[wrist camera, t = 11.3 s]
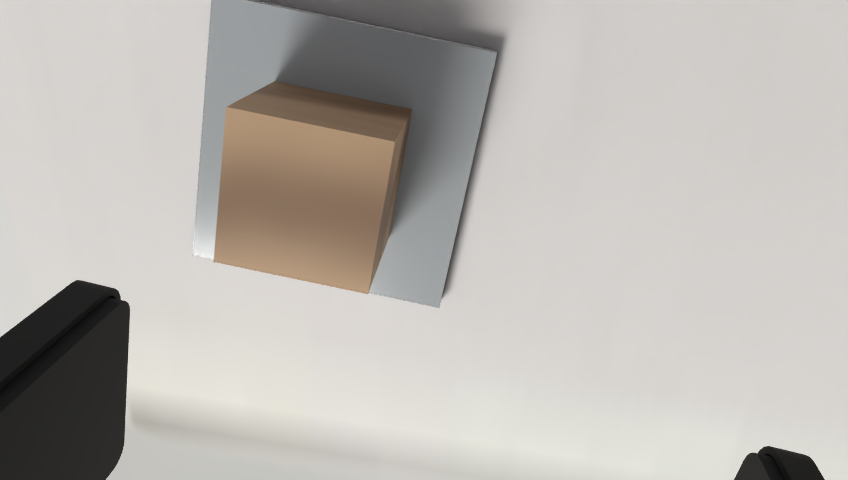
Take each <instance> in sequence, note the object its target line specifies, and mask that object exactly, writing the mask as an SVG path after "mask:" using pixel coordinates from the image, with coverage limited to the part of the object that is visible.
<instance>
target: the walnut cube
mask: <svg viewBox="0 0 848 480" xmlns="http://www.w3.org/2000/svg"><path fill="white" fill-rule="evenodd" d="M411 114H412V109H409V108H404V107H399V106H394V105H389V104H384V103H380V102H375V101H370V100H365V99H360V98H355V97H351V96H346V95H341V94H336V93H331V92H326V91H321V90H317V89H312V88H307V87H302V86H297V85H292V84H288V83H283V82H278V81H274V82H272V83H270V84H268V85H266V86H265V87H263V88H261V89H259V90H257V91H255V92H253V93H251V94H250V95H248V96H246V97H244V98H242V99H240V100H238V101H236V102H234V103H233V104H231V105H229V106H227V107H226V115H225V127H224V139H223V151H222V164H221V176H220V188H219V201H218V213H217V225H216V238H215V250H214V262H217V263H222V264H227V265H231V266H236V267H241V268H246V269H250V270H255V271H260V272H265V273H270V274H274V275H279V276H284V277H289V278H293V279H298V280H303V281H308V282H313V283H317V284H322V285H327V286H332V287H337V288H341V289H346V290H351V291H356V292H360V293H365V294H368V293H369V290H370V287H371V285H372V282H373V279H374V277H375V274H376V271H377V268H378V266H379V263H380V260H381V258H382V255H383V252H384V249H385V247H386V244H387V241H388V239H389V234H390V229H391V223H392V218H393V212H394V207H395V201H396V196H397V191H398V185H399V180H400V174H401V169H402V163H403V158H404V152H405V147H406V141H407V136H408V130H409V125H410V119H411Z"/></svg>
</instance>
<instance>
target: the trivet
mask: <svg viewBox="0 0 848 480" xmlns="http://www.w3.org/2000/svg"><path fill="white" fill-rule="evenodd" d="M496 56H497V51H495V50H490V49H486V48H481V47H476V46H471V45H467V44H462V43H457V42H452V41H448V40H443V39H438V38H433V37H429V36H424V35H419V34H414V33H410V32H405V31H400V30H395V29H390V28H386V27H381V26H376V25H371V24H367V23H362V22H357V21H352V20H348V19H343V18H338V17H333V16H329V15H324V14H319V13H314V12H310V11H305V10H300V9H295V8H291V7H286V6H281V5H276V4H272V3H267V2H262V1H257V0H211V14H210V27H209V41H208V54H207V68H206V82H205V95H204V109H203V122H202V136H201V149H200V163H199V176H198V190H197V204H196V217H195V231H194V244H193V255H194V256H198V257H203V258H208V259H212V260H214V250H215V238H216V225H217V213H218V201H219V188H220V176H221V164H222V151H223V139H224V127H225V115H226V107H227V106H229V105H231V104H233V103H234V102H236V101H238V100H240V99H242V98H244V97H246V96H248V95H250V94H251V93H253V92H255V91H257V90H259V89H261V88H263V87H265V86H266V85H268V84H270V83H272V82H274V81H278V82H283V83H288V84H292V85H297V86H302V87H307V88H312V89H317V90H321V91H326V92H331V93H336V94H341V95H346V96H351V97H355V98H360V99H365V100H370V101H375V102H380V103H384V104H389V105H394V106H399V107H404V108H409V109H412V114H411V119H410V125H409V130H408V136H407V141H406V147H405V152H404V158H403V163H402V169H401V174H400V180H399V185H398V191H397V196H396V201H395V207H394V212H393V218H392V223H391V229H390V234H389V239H388V241H387V244H386V247H385V249H384V252H383V255H382V258H381V260H380V263H379V266H378V268H377V271H376V274H375V277H374V279H373V282H372V285H371V287H370V290H369V293H371V294H376V295H381V296H385V297H390V298H395V299H400V300H404V301H409V302H414V303H418V304H423V305H428V306H432V307H437V308H439V307H440V302H441V298H442V294H443V289H444V285H445V280H446V276H447V272H448V267H449V263H450V258H451V254H452V250H453V245H454V241H455V236H456V232H457V228H458V223H459V219H460V214H461V210H462V206H463V201H464V197H465V192H466V188H467V184H468V179H469V175H470V170H471V166H472V162H473V157H474V153H475V148H476V144H477V140H478V135H479V131H480V126H481V122H482V118H483V113H484V109H485V104H486V100H487V96H488V91H489V87H490V82H491V78H492V74H493V69H494V65H495V60H496Z"/></svg>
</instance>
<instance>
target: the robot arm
mask: <svg viewBox="0 0 848 480" xmlns="http://www.w3.org/2000/svg"><path fill="white" fill-rule="evenodd" d="M129 320H130V307H129V304H128V303H127V302H126V301H122V300H121V298H120V294H119V291H118V290H116V289H114V288H110V287H106V286H102V285H98V284H94V283H90V282H85V281H81V280H76V281H74V282H73V283H71V284H70V285H68V286H67V287H66V288H64V289H63V290H62V291H60V292H59V293H58V294H56V295H55V296H54V297H53V298H51V299H50V300H49V301H47V302H46V303H45V304H43V305H42V306H41V307H39V308H38V309H37V310H36V311H34V312H33V313H32V314H30V315H29V316H28V317H26V318H25V319H24V320H22V321H21V322H20V323H19V324H17V325H16V326H15V327H13V328H12V329H11V330H9V331H8V332H7V333H5V334H4V335H3V336H1V337H0V480H106V478H107V477H108V476H109V475H110V473H111V472H112V471H113V469H114V468H115V466H116V465H117V463H118V460H119V459H120V456H121V454H122V450H123V446H124V433H125V411H126V388H127V365H128V343H129ZM734 480H825V479H824V478H823V476H822V474H821V473H820V471H819V469H818V468H817V466H816V464H815V463H814V461H813V460H812V459H811V458H810V457H809V456H806V455H803V454H799V453H795V452H791V451H787V450H783V449H778V448H774V447H770V446H767V447H763V448H762V449H761V450H760V451H759V452H758V454H757V453H750V454H749V455H747V456H746V458H745V459H744V461H743V463H742V465H741V467H740V469H739V471H738V473H737V475H736V477H735V479H734Z"/></svg>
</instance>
